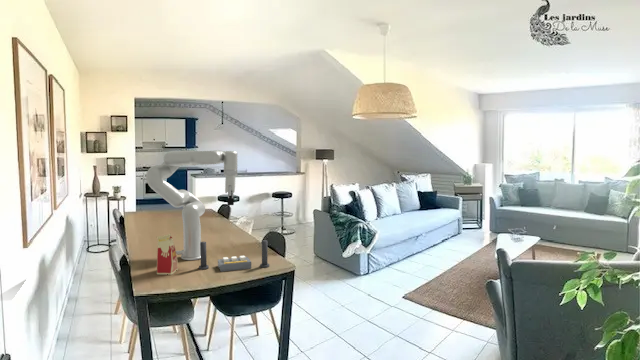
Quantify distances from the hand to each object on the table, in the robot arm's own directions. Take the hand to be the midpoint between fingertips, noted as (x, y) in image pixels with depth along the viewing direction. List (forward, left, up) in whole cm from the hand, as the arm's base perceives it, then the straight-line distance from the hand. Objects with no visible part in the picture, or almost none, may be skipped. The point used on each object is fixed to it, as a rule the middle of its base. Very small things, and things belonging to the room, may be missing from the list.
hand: (230, 204), depth 227 cm
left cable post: (-13, -17, -31) cm, 38 cm away
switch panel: (+3, -17, -32) cm, 36 cm away
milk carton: (-31, -21, -31) cm, 49 cm away
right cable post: (+19, -17, -31) cm, 40 cm away
